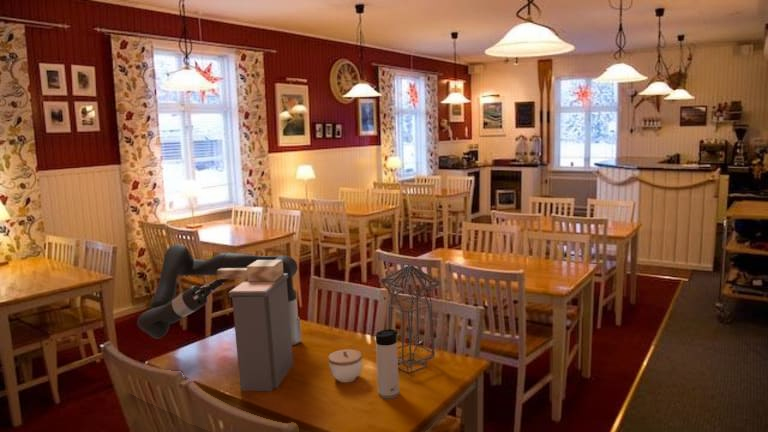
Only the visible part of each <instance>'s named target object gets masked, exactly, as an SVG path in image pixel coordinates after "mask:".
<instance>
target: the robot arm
mask: <svg viewBox="0 0 768 432" xmlns="http://www.w3.org/2000/svg"><path fill="white" fill-rule="evenodd" d="M256 260H283V273H288V278H287V291H288V304H289V317H290V330H291V343H292V346H296V345H297V344H299V343H302V342H303V339H302V328H301V317H299V316H298V315H299V313H298V303H297V292H296V290H295V289H293V282H292V278H293V277H294V276H296V275H295V274H296V273H297V271H298V264H297V261H296V260H295V259H294V258H293V257H291V256H289V255H258V254H257V255H256V254H246V253H237V252H221V253H217V254H216V255H214V256H212V257H210V258H209V259H196V258H193V256H192V254H191V251H190V250H189V248H188V247H187V246H186V245H185V244H182V243H177V244H173V245H171V246H170V247H168V249H167V250H166V251H165V254H164V257H163V263H162V264H163V265H162V269H161V273H160V278H159V281H158V285H157V287H156V289H155V292H154V295H153V297H152V299H151V302H150V305H149V309H148V310H146V311H144V312H142V313H141V314H140V316H139V317H138V319H137V322H136V324H137V327H138V328H139V329H140V330H141V331H143V332H144V333H145V334H147V335H149V336H150V337H152V338H153V339H156V340H158V339H161V338H163V337H164V336H165V335H166V334H167V333H168V331H169V329H170V327H171V326H170V325H171V324H174V323H177V322H179V321H181V319H183V318H184V317H186V316H189V315H191V314H192V313H194V312H196V311H197V310H199V309H200V308H202V307H204V306H206V304H207V302H208V297H209V296H211V295H212V294H213V293H215V292H216V291H218V290H219V289H220V288H221V286H222V285H225V284H226V283H227V282H228V281H230V279H218V278H217V279H213V280H211V281H210V282H208V283H205V284H204V285H202V286H198V285H193V286H191V287H189V288H188V289H186V290H184V291H183V292H182V293H179V295H177V296H176V293H177V284H178V282H177V281H178V276H214V277H217V270H218V269H220V268H247V266H248V265H250V264H252V263H253V262H255V261H256Z"/></svg>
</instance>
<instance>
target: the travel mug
mask: <svg viewBox="0 0 768 432" xmlns="http://www.w3.org/2000/svg"><path fill="white" fill-rule="evenodd" d="M398 333H399V331H398V330H396V329H393V328H391V329H388V328H387V329H381V330H380V331H378V332H377V333H376V334H375V352H376V355H375V356H376V370H377V373H376V375H377V391H378V393H377V394H378V396H379V397H380V398H382V399H385V400H391V399H395V398H397V397H398V396H399V395H400V383H399V382H400V381H399V380H400V379H399V368H398V367H399V364H398V358H399V357H398V356H399V355H398V349H397V347H398V343H397V341H398V340H397V335H398Z"/></svg>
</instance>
